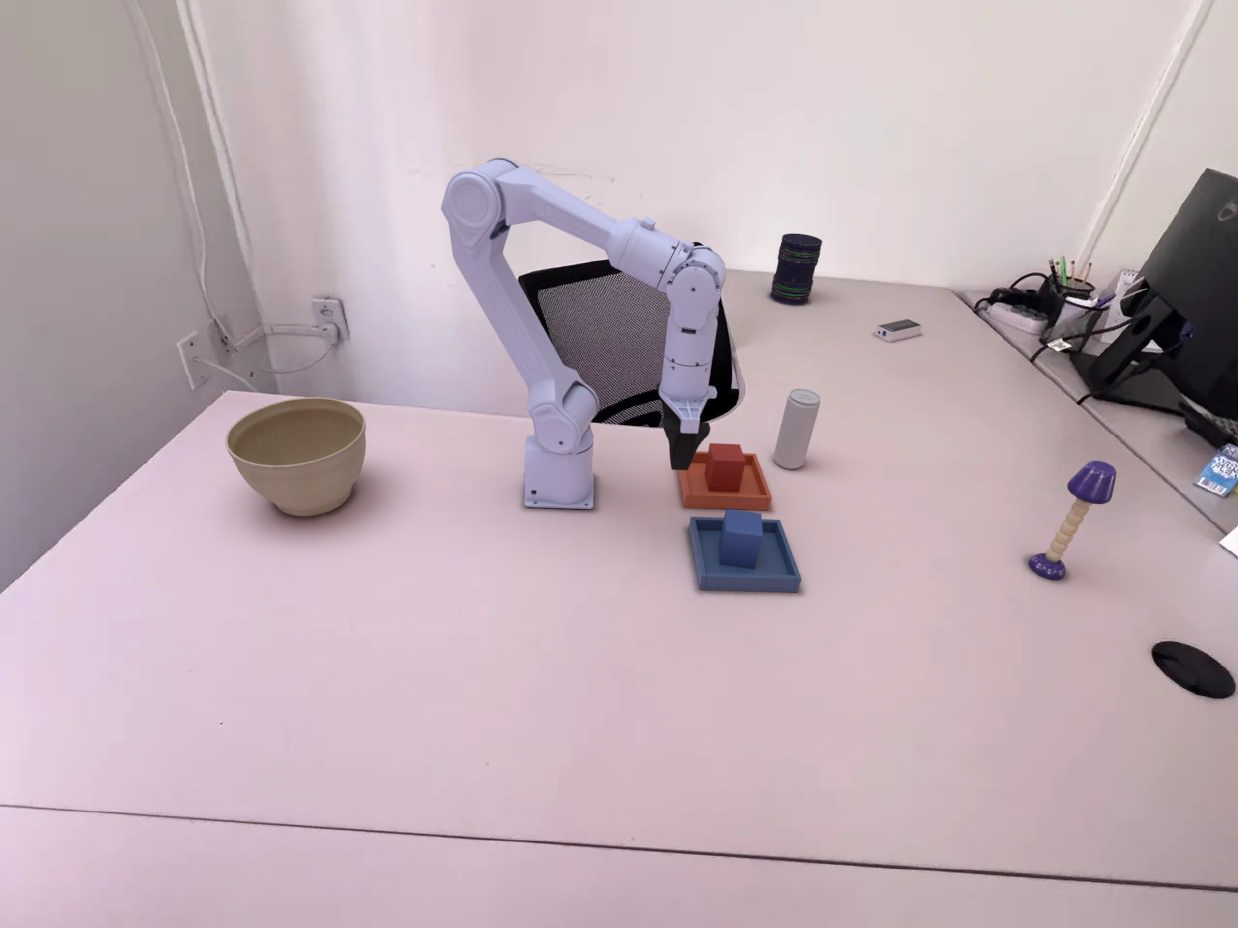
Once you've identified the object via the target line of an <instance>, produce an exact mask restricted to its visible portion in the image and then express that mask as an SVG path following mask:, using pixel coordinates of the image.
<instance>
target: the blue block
mask: <svg viewBox="0 0 1238 928" xmlns="http://www.w3.org/2000/svg"><path fill="white" fill-rule="evenodd" d="M723 515H724V516H723V518H724V520H723V525H722V530H721V535H720V539H719V564H722V565H729V566H736V567H744V568H751V569H755V566H756V562H757V558H758V554H759V551H760V547H761V543H762V539H763V529H762V519H763V518H762V513H760V512H753V511H745V510H739V509H725V511H724V514H723Z"/></svg>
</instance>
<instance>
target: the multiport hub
mask: <svg viewBox="0 0 1238 928" xmlns="http://www.w3.org/2000/svg"><path fill="white" fill-rule="evenodd" d="M922 328H923V324H920V323H918V322H916V321H913V320H911V319H909V318H905V319H901V320H896V321H892V322H887V323H883V324H879V325H877V326H876V328H875V333H874V337H877V338H879V339H881V340H883V341H885V342H887V343H892V342H895V341H899V340H904V339H908V338H913V337H916V336H917V337H918V336H919V335H920V334H921V330H922Z"/></svg>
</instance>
